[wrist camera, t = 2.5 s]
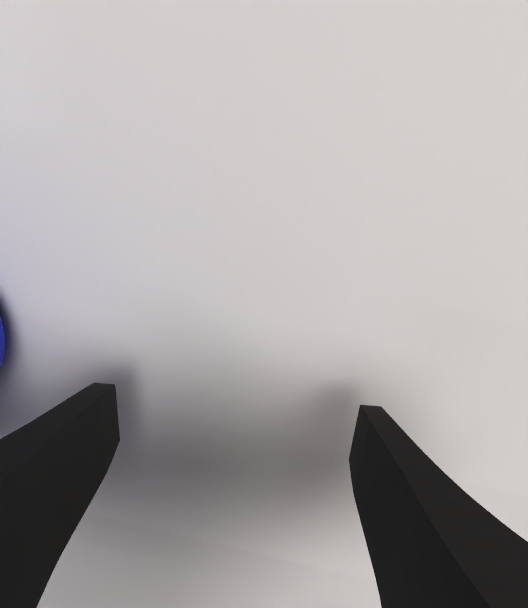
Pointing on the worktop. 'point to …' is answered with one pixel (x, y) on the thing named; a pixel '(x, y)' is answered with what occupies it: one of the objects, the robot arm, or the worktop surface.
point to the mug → (1, 341)
